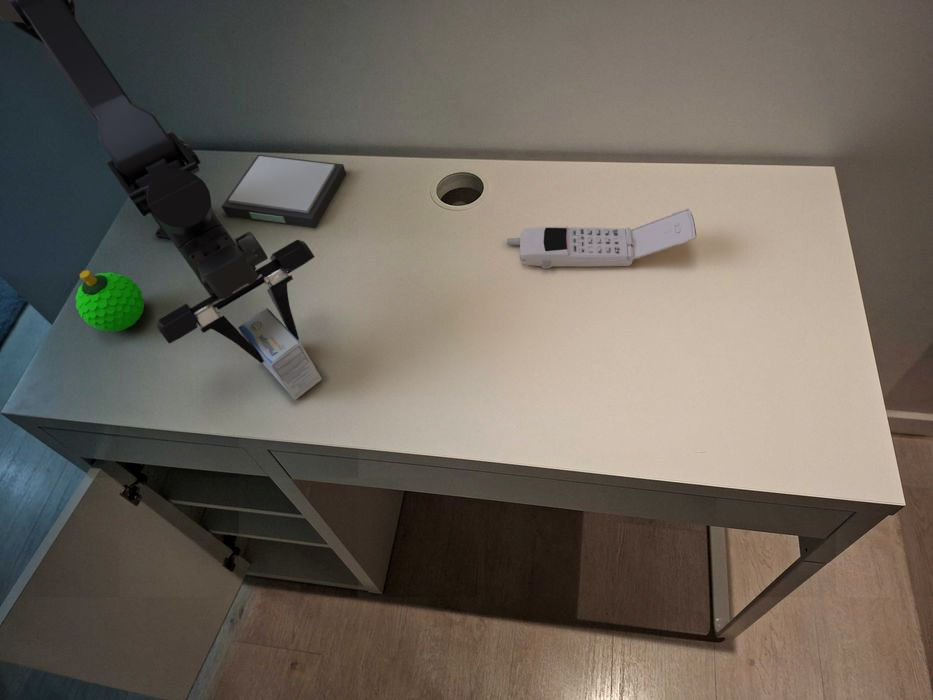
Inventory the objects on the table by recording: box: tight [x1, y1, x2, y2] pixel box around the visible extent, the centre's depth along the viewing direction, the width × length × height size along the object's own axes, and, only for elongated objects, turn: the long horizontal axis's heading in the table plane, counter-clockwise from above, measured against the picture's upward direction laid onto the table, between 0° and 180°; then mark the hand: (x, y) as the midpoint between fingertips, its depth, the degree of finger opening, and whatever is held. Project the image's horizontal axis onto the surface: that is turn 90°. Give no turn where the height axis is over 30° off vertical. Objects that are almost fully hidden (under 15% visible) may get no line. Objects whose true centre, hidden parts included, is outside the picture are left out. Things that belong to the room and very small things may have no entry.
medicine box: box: [238, 307, 323, 401], centre depth 74 cm, size 8×4×9 cm, turn 42°
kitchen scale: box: [221, 154, 347, 229], centre depth 97 cm, size 16×13×3 cm
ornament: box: [75, 269, 145, 333], centre depth 82 cm, size 8×8×10 cm
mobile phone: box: [506, 208, 697, 269], centre depth 82 cm, size 6×6×25 cm
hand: (280, 351), depth 72 cm, fingers closed on medicine box, 4 cm apart
